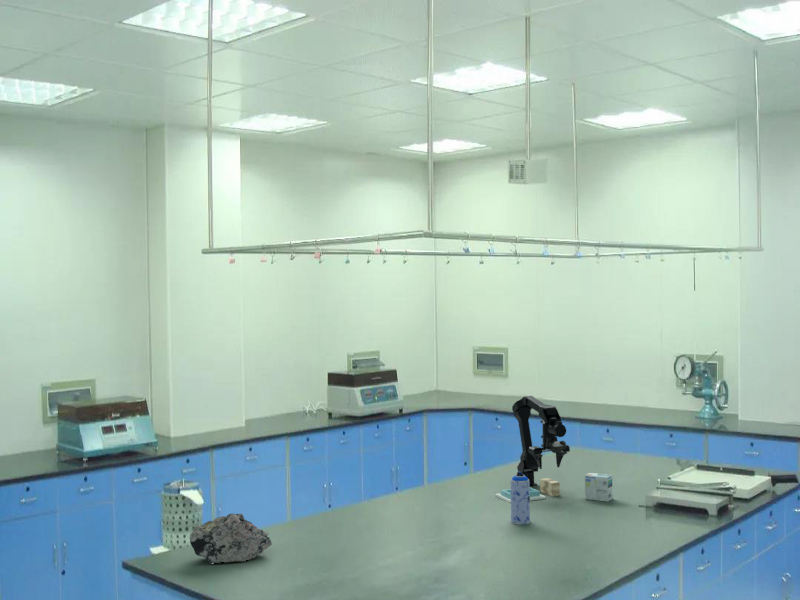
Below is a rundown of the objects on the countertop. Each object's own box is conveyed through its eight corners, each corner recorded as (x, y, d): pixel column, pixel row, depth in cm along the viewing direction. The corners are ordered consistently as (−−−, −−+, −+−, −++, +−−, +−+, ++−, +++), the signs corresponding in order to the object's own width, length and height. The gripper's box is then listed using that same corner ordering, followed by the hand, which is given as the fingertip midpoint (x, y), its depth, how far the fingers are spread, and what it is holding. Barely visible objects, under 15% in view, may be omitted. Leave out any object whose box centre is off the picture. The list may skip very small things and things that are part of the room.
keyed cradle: (495, 495, 377) (494, 489, 377) (529, 492, 383) (529, 485, 383) (509, 502, 364) (509, 495, 364) (545, 498, 370) (545, 491, 370)
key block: (540, 491, 384) (540, 478, 384) (548, 490, 385) (547, 478, 385) (552, 496, 375) (551, 483, 375) (559, 495, 376) (559, 482, 376)
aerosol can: (530, 524, 328) (529, 474, 328) (510, 524, 330) (509, 473, 329) (531, 519, 336) (530, 470, 336) (511, 518, 337) (510, 469, 337)
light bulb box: (613, 498, 368) (612, 474, 368) (608, 502, 363) (608, 477, 363) (589, 496, 374) (589, 472, 374) (584, 499, 368) (584, 474, 368)
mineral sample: (254, 508, 307) (262, 498, 295) (269, 557, 301) (278, 549, 289) (182, 530, 296) (187, 521, 283) (196, 582, 289) (202, 575, 277)
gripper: (540, 438, 369) (540, 473, 369) (576, 435, 376) (576, 469, 376) (527, 434, 380) (528, 468, 380) (563, 431, 386) (563, 465, 386)
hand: (549, 468), depth 380 cm, fingers open, 9 cm apart
